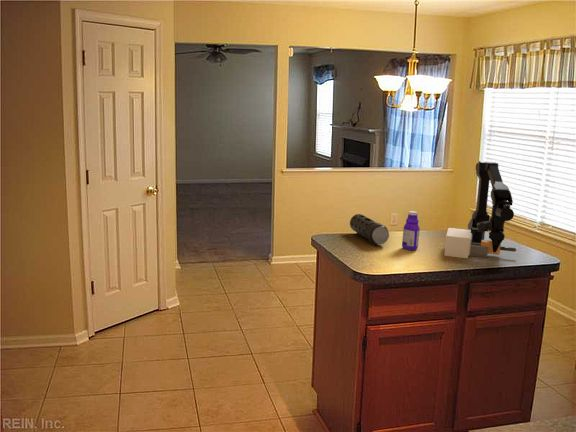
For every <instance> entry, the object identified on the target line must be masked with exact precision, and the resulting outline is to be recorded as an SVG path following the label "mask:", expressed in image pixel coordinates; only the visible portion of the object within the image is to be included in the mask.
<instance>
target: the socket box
mask: <svg viewBox="0 0 576 432" xmlns="http://www.w3.org/2000/svg"><path fill="white" fill-rule="evenodd" d="M446 232H447V233H446V236H445V243H444V245H445V247H444V257H453V258H463V259H468V258H469V256H473V257H480V258H488V255H489V254H488V247H483V246H481V243H473V242H472V237H473V235H472V233H471V230H469V229H466V228H465V229H463V228H454V227H448V229H447V231H446Z"/></svg>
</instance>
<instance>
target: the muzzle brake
mask: <svg viewBox="0 0 576 432" xmlns="http://www.w3.org/2000/svg"><path fill="white" fill-rule="evenodd" d="M349 226H350V228H351V230H352V231H354V232H356V234H357V235H358V236H360V237H362V238H365V240H367V241H369V242H370V243H371V244H373V245H384V244H385V243H387V241H389V237H390V233H389V230H388V228H387V227H386V225H384V224H382V223H378V222H377V221H375V220H373V219H371V218H369V217H367V216H366V215H364V214H361V213H357V214H354V215H353V216H352V217H351V219H350V221H349Z"/></svg>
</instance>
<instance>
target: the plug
mask: <svg viewBox="0 0 576 432" xmlns="http://www.w3.org/2000/svg"><path fill="white" fill-rule="evenodd" d="M501 244H502V243H501ZM501 244H500V246H499V247H498V249H497V251H496V252H493V246H492V240H490V239H489V240H487V239H484V240H482V241H481V246H483V247H488V254H487V255H489V254H491V255H497V256H498V255H500V253H501V251H506V252H515V253H516V251H517V248H515V247H509V246H501Z"/></svg>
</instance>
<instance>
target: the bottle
mask: <svg viewBox="0 0 576 432" xmlns="http://www.w3.org/2000/svg"><path fill="white" fill-rule="evenodd" d="M418 213H419V212H418V211H415V210H409V211H408V213H407V214H408V215H407V218H406V219H405V224H404V226H403V228H402V229H403V231H402V241H401V247H402V248H403V249H405V250H408V251H416V250H418V248H419V242H420V241H419V240H420V238H419V237H420V225H419V222H420V221H419V218H418Z"/></svg>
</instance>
